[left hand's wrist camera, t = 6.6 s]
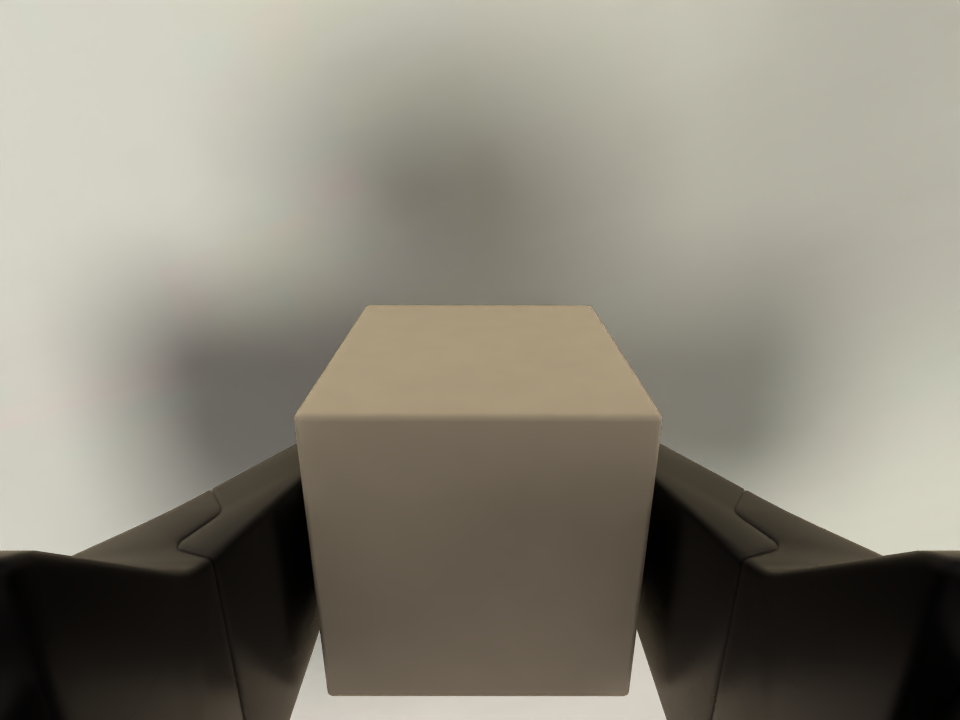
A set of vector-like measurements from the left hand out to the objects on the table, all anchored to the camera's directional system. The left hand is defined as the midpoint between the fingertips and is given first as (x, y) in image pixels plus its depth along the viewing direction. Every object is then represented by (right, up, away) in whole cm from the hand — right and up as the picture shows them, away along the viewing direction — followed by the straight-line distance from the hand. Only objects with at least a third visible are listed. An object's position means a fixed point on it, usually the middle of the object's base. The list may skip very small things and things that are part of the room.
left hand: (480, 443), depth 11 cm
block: (0, 0, +1) cm, 1 cm away
